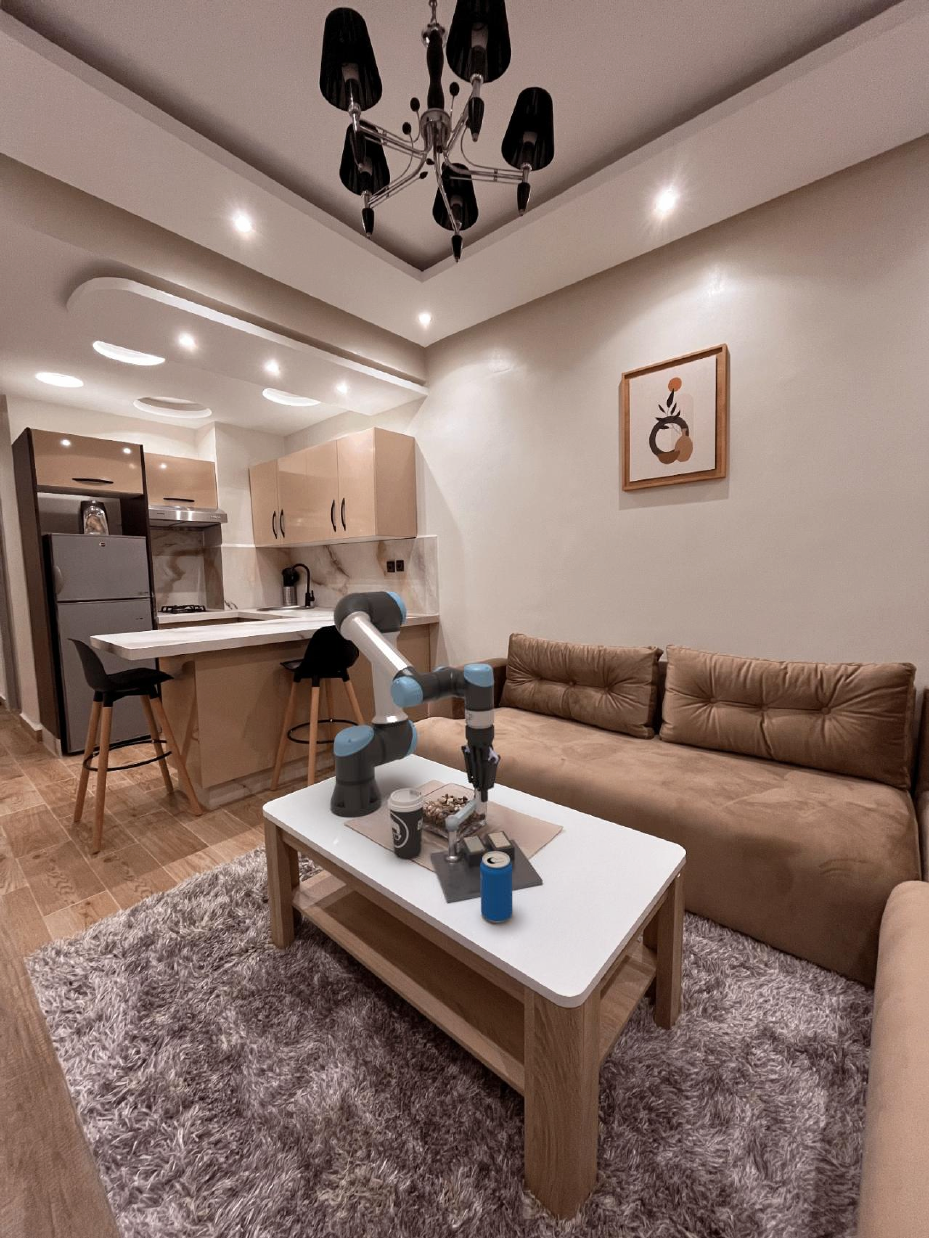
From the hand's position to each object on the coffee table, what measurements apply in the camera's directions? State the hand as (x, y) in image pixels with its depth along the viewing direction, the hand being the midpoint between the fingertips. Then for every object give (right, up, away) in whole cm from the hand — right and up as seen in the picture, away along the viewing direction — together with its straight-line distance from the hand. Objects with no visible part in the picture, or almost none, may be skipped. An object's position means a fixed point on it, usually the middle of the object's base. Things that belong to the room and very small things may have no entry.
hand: (481, 812), depth 131 cm
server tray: (0, -9, -13) cm, 16 cm away
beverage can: (+2, -10, -28) cm, 30 cm away
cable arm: (-4, 0, -3) cm, 5 cm away
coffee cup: (-19, -8, -5) cm, 21 cm away
